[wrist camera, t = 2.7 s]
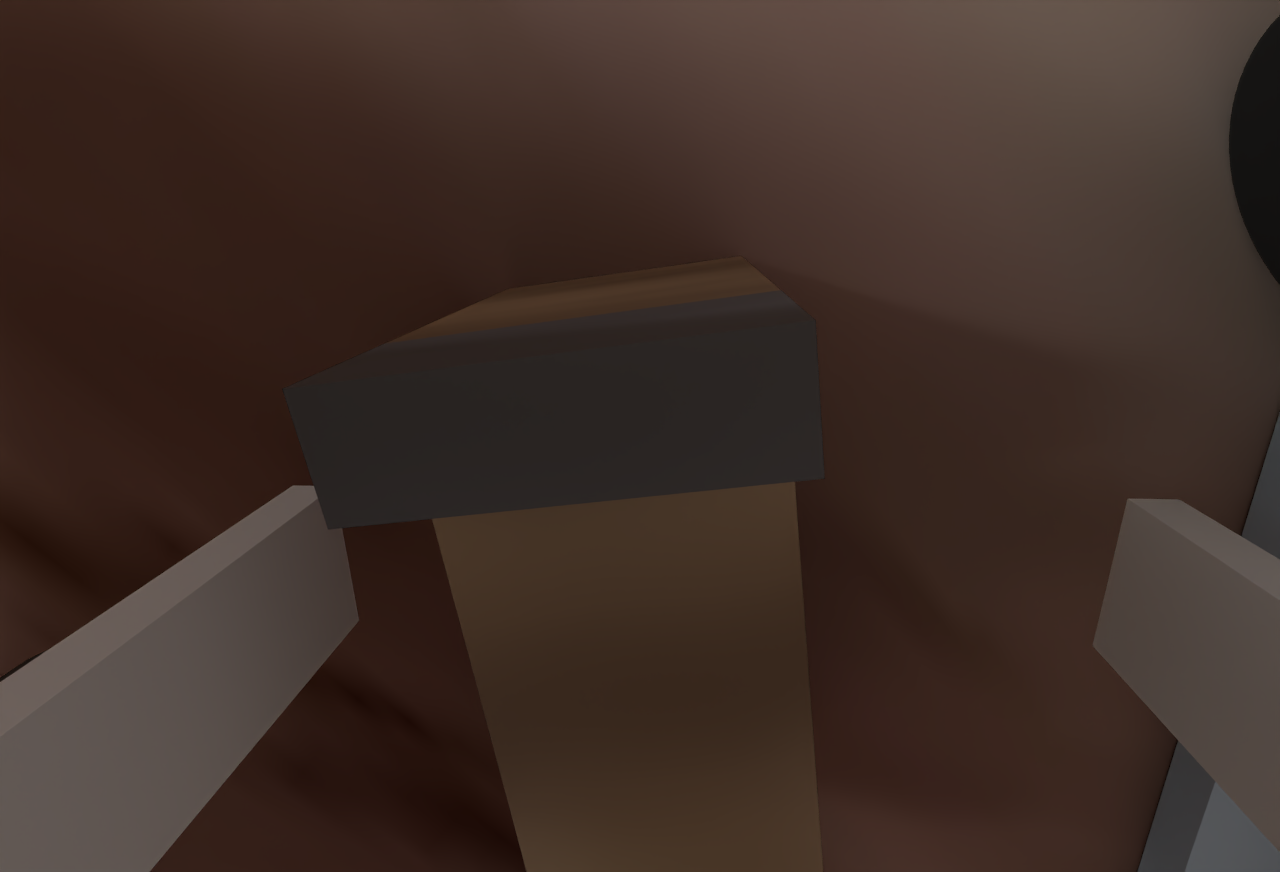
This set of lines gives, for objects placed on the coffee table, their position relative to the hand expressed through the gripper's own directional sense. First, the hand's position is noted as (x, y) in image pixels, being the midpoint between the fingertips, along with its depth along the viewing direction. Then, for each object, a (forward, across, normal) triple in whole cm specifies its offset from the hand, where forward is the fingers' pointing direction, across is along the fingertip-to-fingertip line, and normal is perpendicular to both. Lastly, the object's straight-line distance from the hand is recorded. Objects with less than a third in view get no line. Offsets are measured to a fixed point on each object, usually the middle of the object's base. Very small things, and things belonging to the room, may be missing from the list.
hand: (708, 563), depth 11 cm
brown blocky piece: (+2, -1, 0) cm, 2 cm away
